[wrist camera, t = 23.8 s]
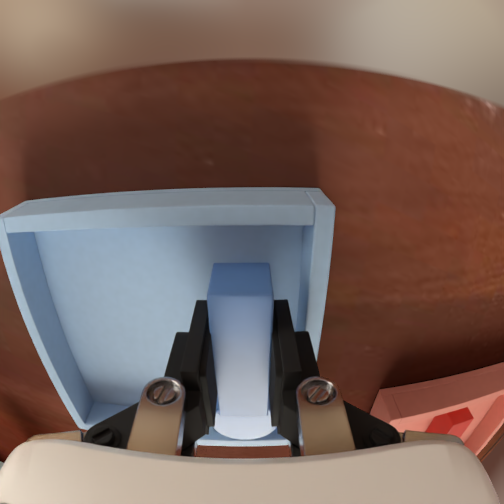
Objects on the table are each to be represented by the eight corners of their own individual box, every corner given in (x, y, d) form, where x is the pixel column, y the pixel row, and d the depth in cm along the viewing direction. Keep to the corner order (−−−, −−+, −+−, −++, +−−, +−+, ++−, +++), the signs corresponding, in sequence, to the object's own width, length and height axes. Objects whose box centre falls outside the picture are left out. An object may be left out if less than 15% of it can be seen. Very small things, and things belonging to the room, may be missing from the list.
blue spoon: (286, 261, 11) (294, 294, 9) (275, 421, 15) (278, 455, 13) (196, 262, 11) (186, 294, 9) (215, 422, 15) (212, 455, 13)
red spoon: (468, 395, 18) (480, 416, 16) (424, 459, 22) (431, 477, 20) (435, 404, 18) (446, 427, 16) (394, 467, 22) (400, 486, 20)
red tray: (519, 356, 17) (534, 376, 15) (456, 450, 23) (465, 468, 21) (378, 388, 17) (391, 420, 15) (338, 479, 23) (342, 502, 20)
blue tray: (319, 187, 12) (336, 205, 10) (296, 410, 18) (300, 444, 15) (25, 200, 12) (-8, 218, 10) (91, 399, 18) (78, 428, 15)
